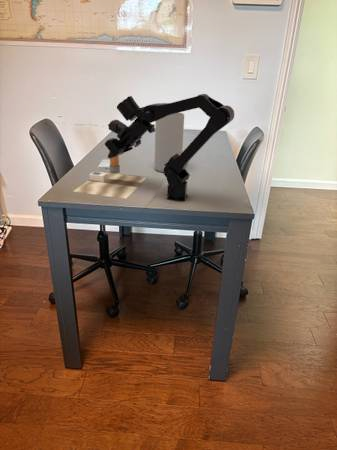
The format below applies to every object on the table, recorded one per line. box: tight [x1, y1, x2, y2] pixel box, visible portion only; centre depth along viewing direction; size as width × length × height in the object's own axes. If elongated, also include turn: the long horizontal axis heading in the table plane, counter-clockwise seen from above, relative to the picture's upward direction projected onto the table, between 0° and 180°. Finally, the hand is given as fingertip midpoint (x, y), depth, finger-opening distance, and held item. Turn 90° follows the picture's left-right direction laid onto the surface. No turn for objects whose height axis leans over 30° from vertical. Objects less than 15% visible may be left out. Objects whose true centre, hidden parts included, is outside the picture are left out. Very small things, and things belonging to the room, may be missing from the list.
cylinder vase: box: [154, 112, 185, 174], centre depth 152 cm, size 12×12×25 cm
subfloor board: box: [73, 171, 147, 200], centre depth 133 cm, size 21×24×2 cm
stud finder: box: [88, 171, 108, 182], centre depth 136 cm, size 6×4×2 cm, turn 76°
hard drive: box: [97, 158, 110, 170], centre depth 160 cm, size 2×8×12 cm
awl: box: [108, 137, 121, 174], centre depth 131 cm, size 4×4×13 cm
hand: (111, 156), depth 131 cm, fingers closed on awl, 3 cm apart
